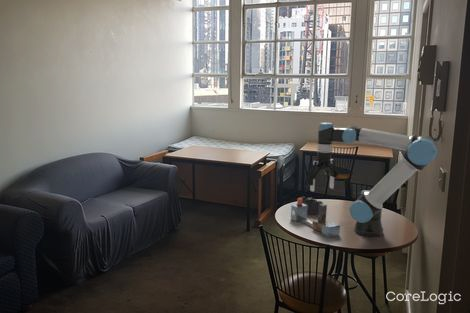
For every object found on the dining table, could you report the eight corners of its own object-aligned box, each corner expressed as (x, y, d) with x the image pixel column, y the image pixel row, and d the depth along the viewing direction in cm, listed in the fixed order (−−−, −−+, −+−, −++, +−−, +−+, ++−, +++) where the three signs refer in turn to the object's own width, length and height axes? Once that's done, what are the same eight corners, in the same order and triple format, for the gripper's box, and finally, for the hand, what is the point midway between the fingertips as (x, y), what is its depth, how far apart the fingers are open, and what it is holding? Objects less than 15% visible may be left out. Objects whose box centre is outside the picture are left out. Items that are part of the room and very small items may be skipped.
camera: (326, 212, 257) (327, 197, 255) (319, 217, 248) (320, 201, 246) (305, 208, 265) (306, 193, 263) (298, 212, 256) (299, 197, 254)
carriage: (330, 231, 223) (332, 206, 221) (321, 233, 220) (323, 207, 218) (320, 226, 230) (322, 201, 227) (312, 228, 227) (313, 203, 224)
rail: (339, 235, 219) (340, 219, 217) (327, 238, 215) (328, 222, 213) (301, 217, 246) (302, 203, 244) (290, 219, 242) (291, 205, 240)
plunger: (302, 206, 240) (303, 199, 239) (299, 206, 238) (299, 199, 238) (299, 204, 242) (300, 197, 241) (296, 205, 241) (296, 198, 240)
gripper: (337, 148, 229) (334, 185, 233) (301, 151, 217) (299, 190, 221) (346, 151, 222) (343, 188, 226) (310, 154, 210) (308, 193, 214)
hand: (321, 189), depth 223 cm, fingers open, 13 cm apart
